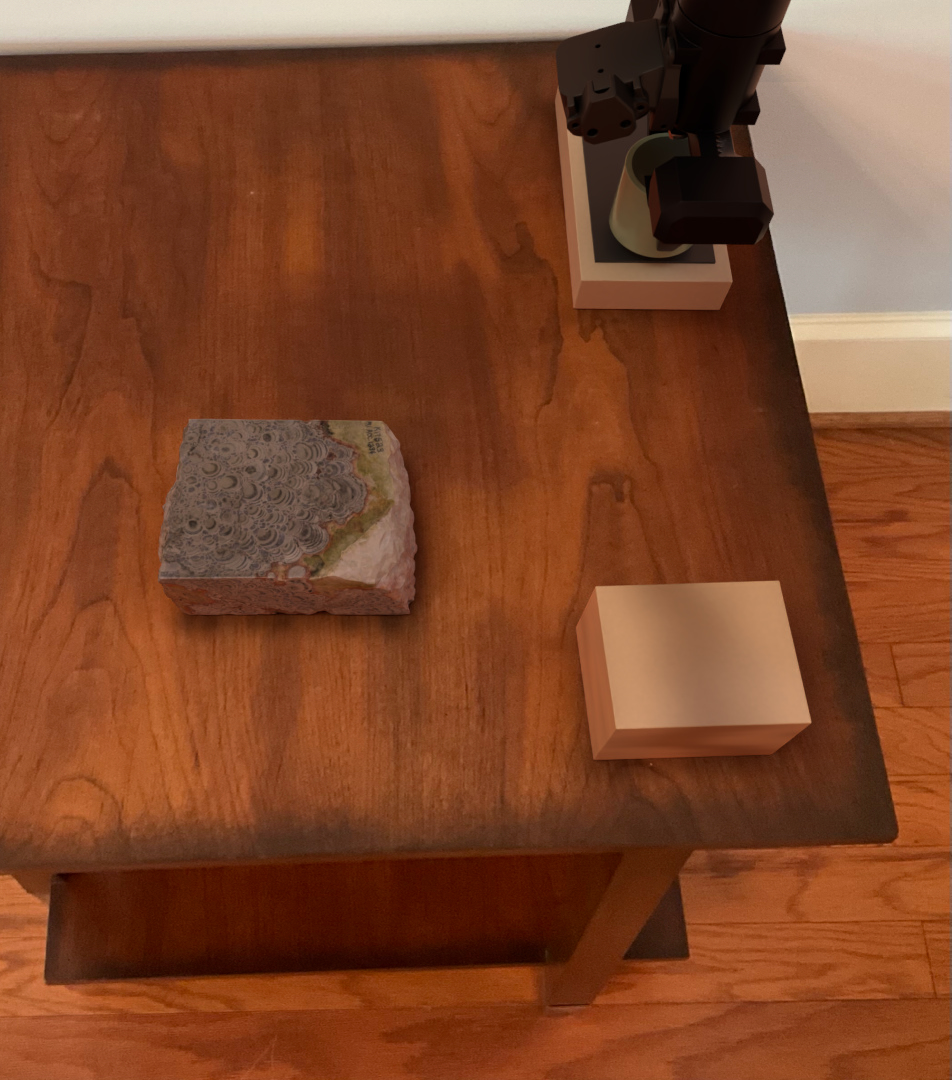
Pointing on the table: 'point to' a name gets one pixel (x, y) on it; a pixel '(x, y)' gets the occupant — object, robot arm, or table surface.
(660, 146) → the cup
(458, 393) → the table surface
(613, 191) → the copier
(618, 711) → the riser
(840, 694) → the table surface
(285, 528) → the geological specimen
